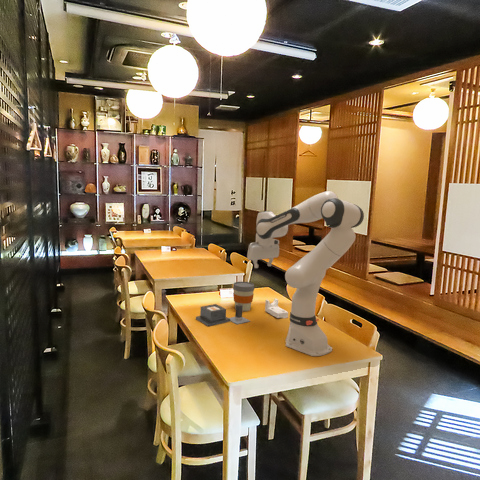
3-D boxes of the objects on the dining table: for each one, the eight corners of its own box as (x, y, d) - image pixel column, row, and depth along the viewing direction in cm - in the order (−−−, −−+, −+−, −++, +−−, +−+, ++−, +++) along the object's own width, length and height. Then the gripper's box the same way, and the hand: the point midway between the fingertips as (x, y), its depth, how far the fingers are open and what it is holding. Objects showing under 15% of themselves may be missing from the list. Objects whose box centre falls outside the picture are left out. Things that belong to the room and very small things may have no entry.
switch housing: (230, 321, 205) (230, 309, 204) (208, 326, 197) (208, 313, 196) (217, 314, 215) (217, 302, 214) (195, 319, 206) (196, 306, 205)
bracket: (264, 312, 224) (265, 299, 223) (275, 310, 227) (275, 298, 226) (277, 319, 213) (278, 306, 212) (287, 318, 216) (288, 305, 215)
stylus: (241, 319, 207) (242, 305, 206) (238, 320, 206) (238, 306, 205) (238, 318, 209) (239, 304, 208) (235, 319, 208) (235, 305, 207)
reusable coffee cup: (228, 309, 224) (229, 284, 222) (237, 304, 235) (238, 280, 233) (247, 313, 219) (249, 288, 217) (256, 307, 230) (257, 283, 228)
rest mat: (250, 321, 207) (250, 320, 207) (237, 324, 201) (237, 323, 201) (239, 316, 214) (239, 315, 214) (226, 319, 208) (226, 318, 208)
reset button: (220, 318, 205) (221, 309, 204) (211, 320, 201) (211, 311, 201) (214, 315, 210) (214, 306, 209) (205, 316, 206) (205, 307, 205)
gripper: (253, 243, 195) (252, 270, 196) (281, 240, 207) (280, 266, 209) (245, 241, 199) (244, 267, 201) (273, 239, 212) (272, 264, 214)
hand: (262, 266), depth 205 cm, fingers open, 8 cm apart
